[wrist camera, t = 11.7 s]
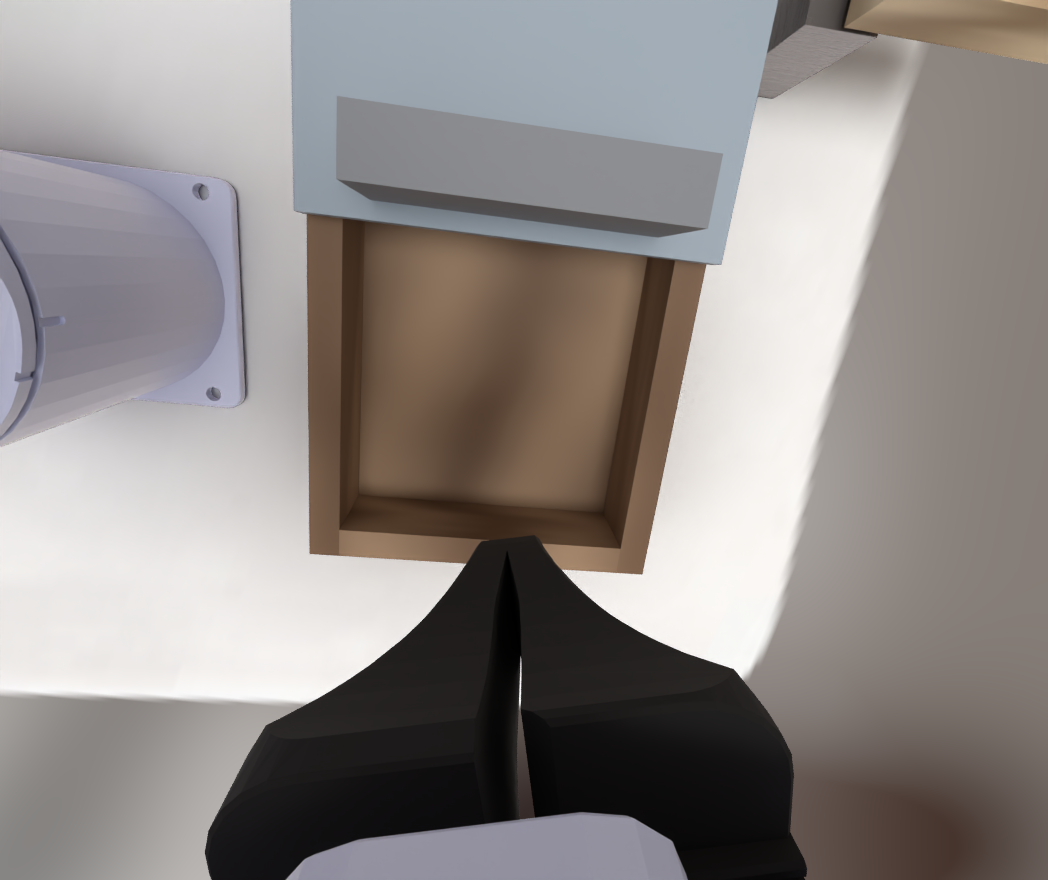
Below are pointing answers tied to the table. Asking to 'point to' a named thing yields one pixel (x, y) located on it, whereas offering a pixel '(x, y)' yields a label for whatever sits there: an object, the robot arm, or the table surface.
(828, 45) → the block
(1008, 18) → the tan wooden block
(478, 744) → the robot arm
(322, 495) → the brown wooden shallow box
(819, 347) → the table surface
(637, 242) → the lid
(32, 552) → the table surface
